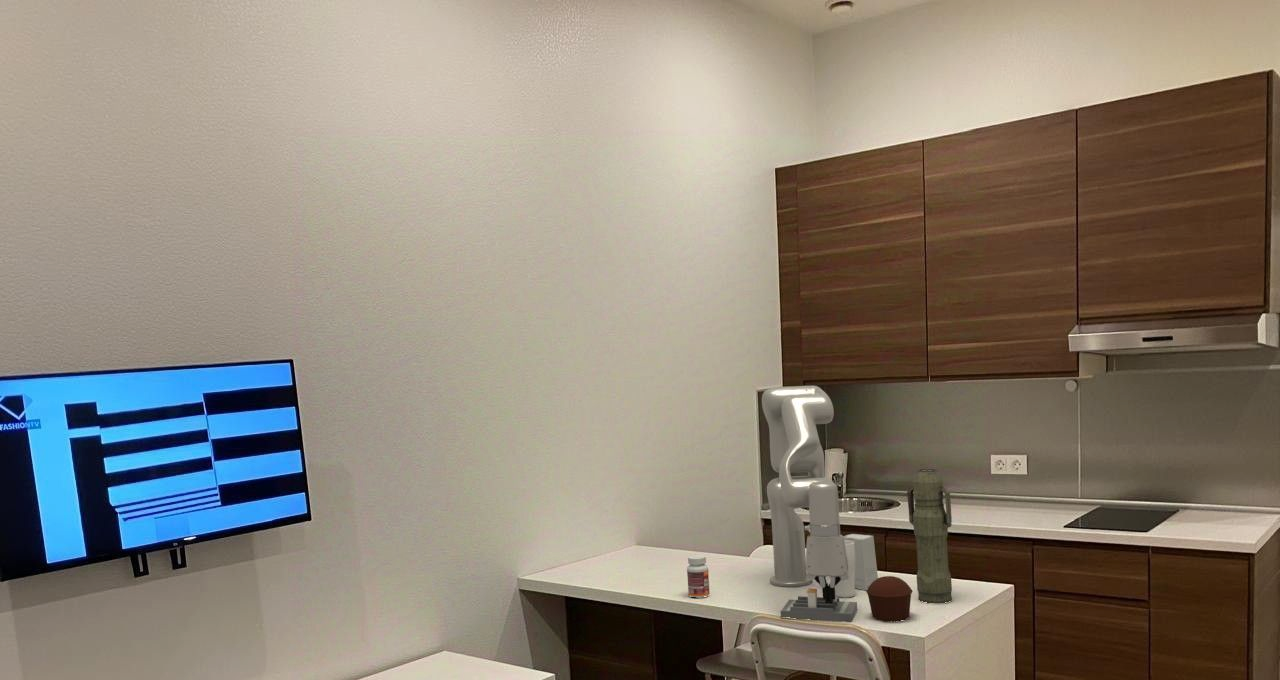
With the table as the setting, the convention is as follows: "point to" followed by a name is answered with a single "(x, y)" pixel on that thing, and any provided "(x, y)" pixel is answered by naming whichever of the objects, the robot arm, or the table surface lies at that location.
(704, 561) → the pill bottle
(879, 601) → the muffin
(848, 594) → the drinking glass
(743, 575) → the table surface
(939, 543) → the green vase with handles
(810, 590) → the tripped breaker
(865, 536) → the skincare box
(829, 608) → the grey ridged tray
